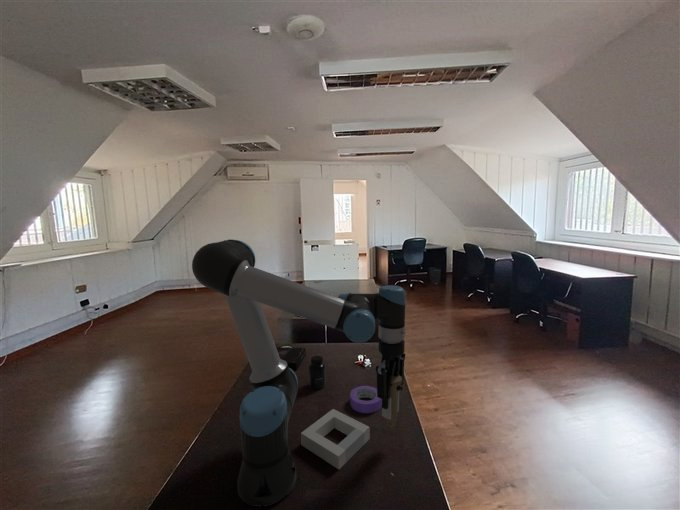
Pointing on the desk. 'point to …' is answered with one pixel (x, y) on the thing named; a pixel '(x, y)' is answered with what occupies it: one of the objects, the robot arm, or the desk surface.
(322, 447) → the socket
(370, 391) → the masking tape
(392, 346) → the robot arm
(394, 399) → the handle
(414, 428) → the desk surface
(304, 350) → the portable cd player
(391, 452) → the desk surface
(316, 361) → the supplement bottle
